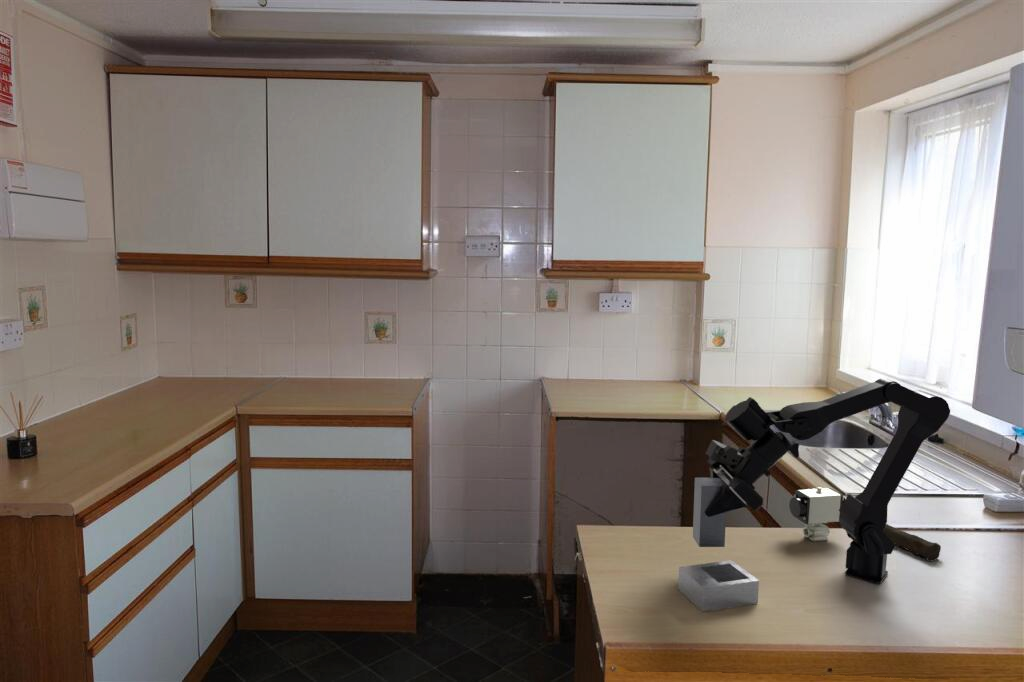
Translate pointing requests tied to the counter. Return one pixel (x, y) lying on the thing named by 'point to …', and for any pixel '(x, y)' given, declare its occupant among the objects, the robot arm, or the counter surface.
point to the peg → (705, 527)
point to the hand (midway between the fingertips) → (702, 510)
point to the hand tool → (913, 543)
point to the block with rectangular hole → (718, 585)
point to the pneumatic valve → (816, 510)
